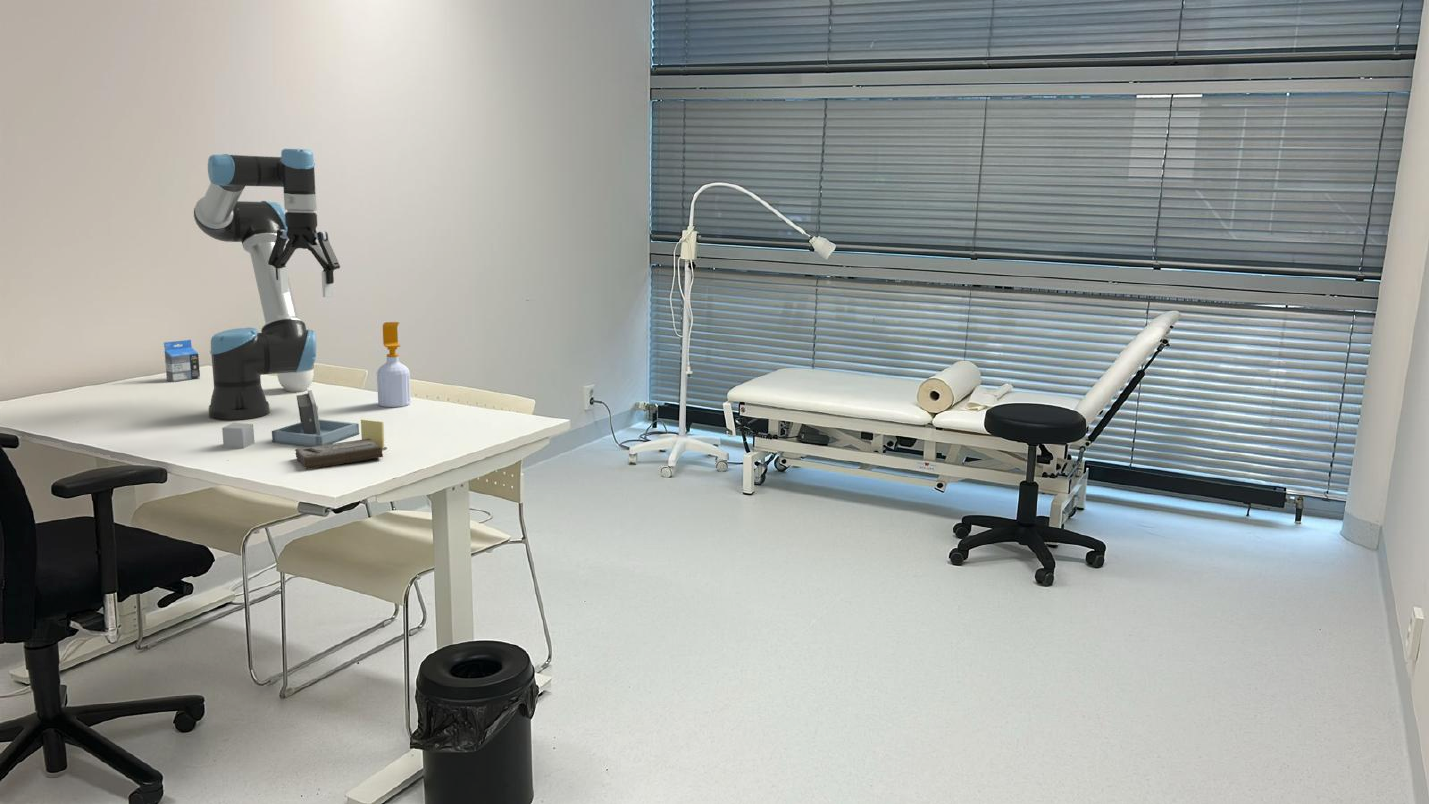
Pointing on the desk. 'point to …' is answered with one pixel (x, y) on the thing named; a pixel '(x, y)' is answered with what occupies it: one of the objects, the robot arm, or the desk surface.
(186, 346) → the label tape cartridge
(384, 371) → the soap bottle
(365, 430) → the label card
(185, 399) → the desk surface
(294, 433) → the parts tray
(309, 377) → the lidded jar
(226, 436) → the grey block
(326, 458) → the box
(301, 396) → the electrical switch
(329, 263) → the robot arm
